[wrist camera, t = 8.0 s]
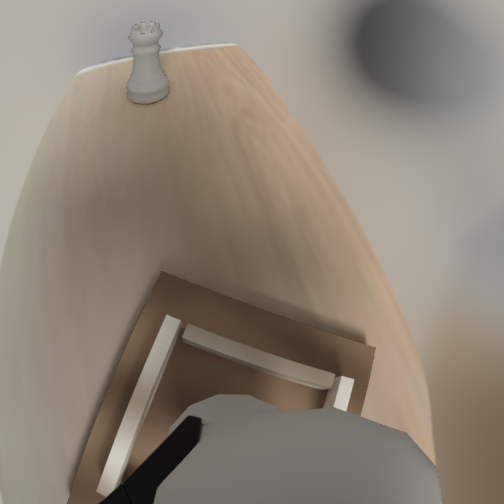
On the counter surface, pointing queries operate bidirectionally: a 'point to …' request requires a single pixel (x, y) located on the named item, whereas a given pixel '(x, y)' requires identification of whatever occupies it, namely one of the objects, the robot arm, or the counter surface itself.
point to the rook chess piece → (146, 66)
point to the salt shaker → (296, 458)
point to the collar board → (210, 374)
